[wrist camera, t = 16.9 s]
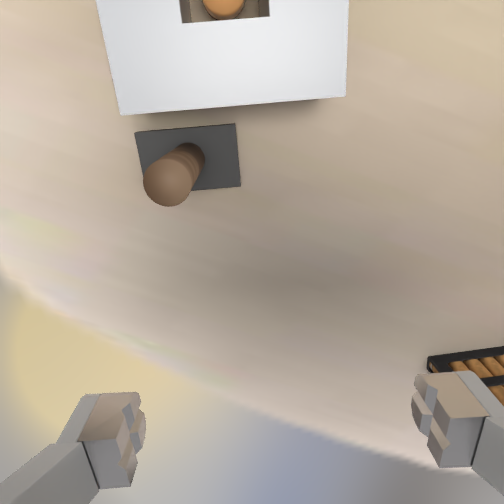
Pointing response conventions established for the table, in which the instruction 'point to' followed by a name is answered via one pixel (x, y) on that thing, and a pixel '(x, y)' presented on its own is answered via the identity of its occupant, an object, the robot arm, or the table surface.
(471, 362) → the ammunition clip
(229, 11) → the plunger
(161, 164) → the brown rounded rod
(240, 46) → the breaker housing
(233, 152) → the rubber pad
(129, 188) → the table surface
